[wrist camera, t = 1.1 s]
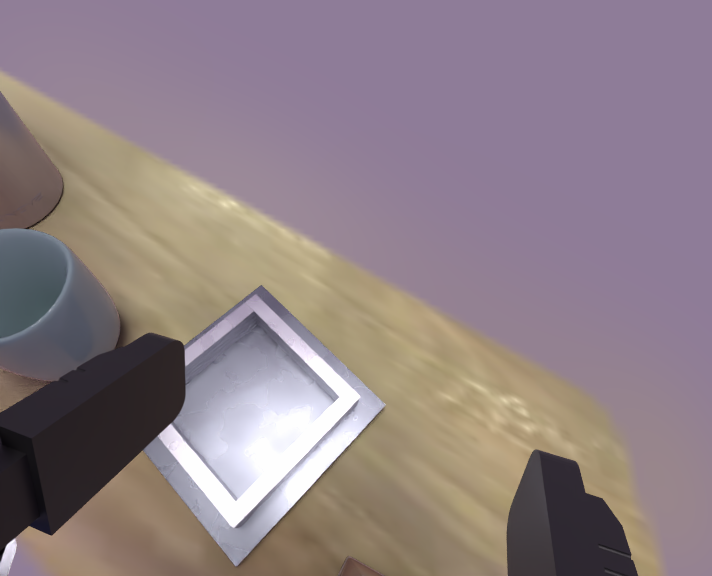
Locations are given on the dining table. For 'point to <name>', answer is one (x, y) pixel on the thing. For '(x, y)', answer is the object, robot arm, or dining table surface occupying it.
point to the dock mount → (257, 421)
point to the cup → (50, 307)
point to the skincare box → (356, 569)
